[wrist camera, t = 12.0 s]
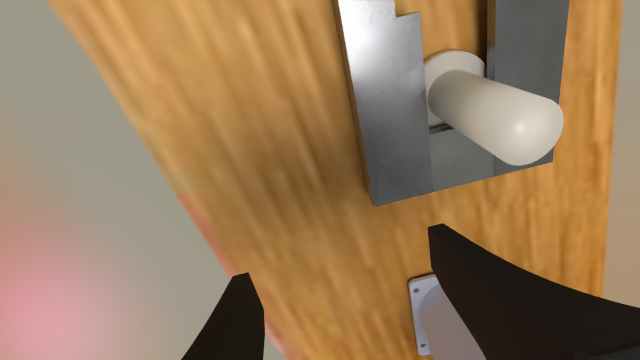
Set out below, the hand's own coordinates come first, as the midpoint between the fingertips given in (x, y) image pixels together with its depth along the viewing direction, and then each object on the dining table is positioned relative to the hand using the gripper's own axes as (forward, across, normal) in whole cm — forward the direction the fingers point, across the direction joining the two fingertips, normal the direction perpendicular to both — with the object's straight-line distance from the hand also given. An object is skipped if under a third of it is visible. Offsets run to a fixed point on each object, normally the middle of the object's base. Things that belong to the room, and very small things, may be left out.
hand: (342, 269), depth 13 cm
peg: (+10, -9, -3) cm, 14 cm away
